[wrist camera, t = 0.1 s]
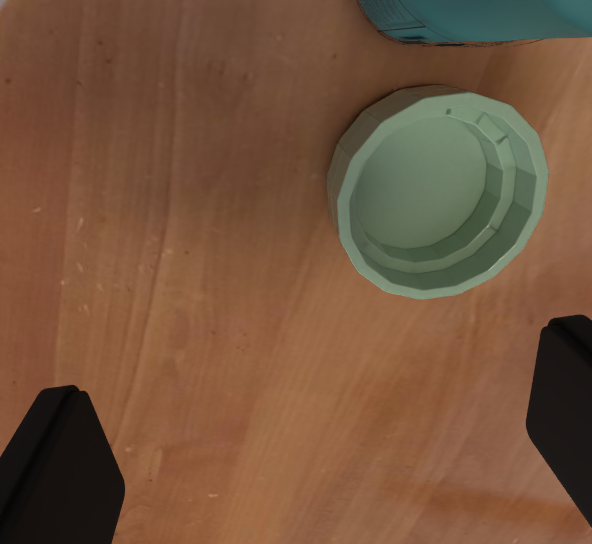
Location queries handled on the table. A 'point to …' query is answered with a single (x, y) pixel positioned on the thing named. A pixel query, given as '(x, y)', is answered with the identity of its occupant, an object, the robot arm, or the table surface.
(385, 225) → the celadon bowl
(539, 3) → the beverage bottle
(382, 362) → the table surface
